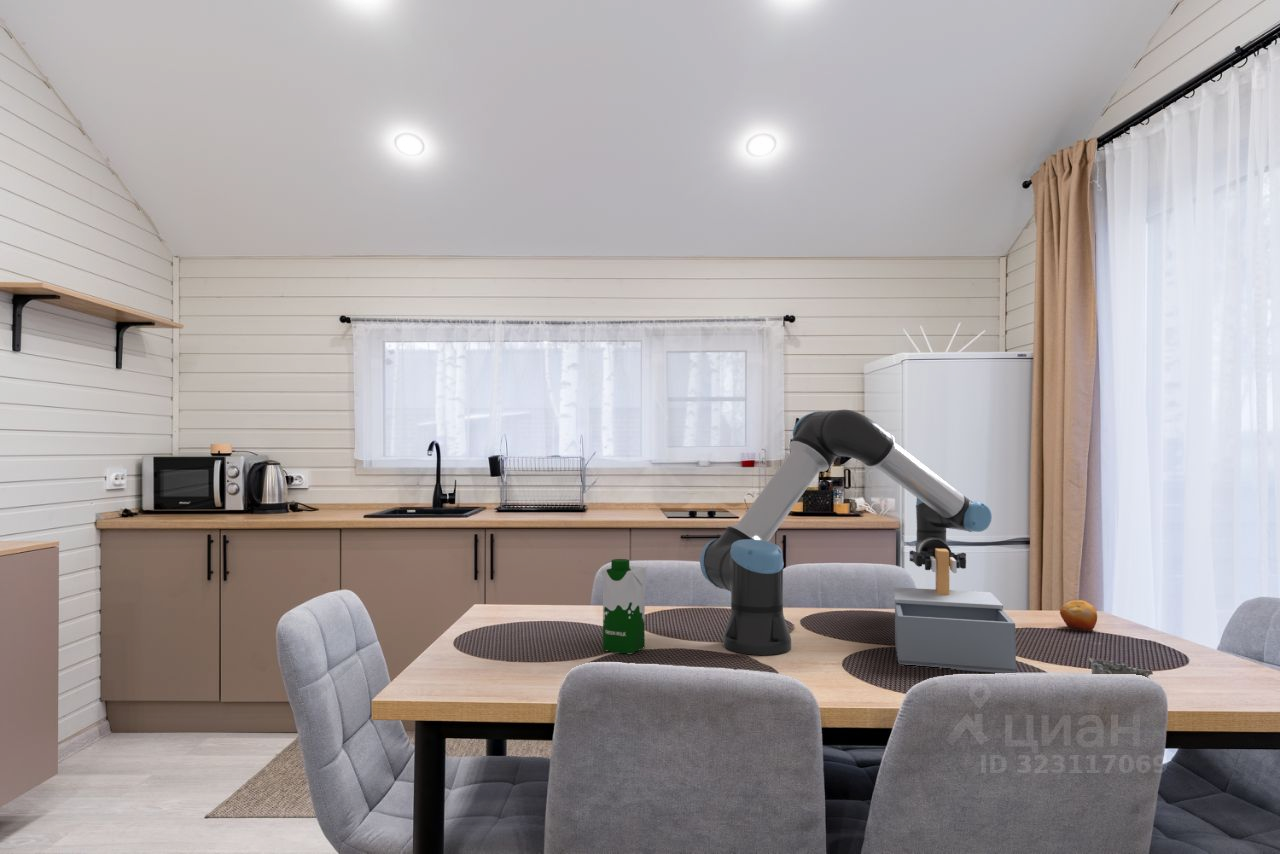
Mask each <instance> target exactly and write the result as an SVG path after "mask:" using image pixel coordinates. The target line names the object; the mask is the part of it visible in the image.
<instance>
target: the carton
mask: <svg viewBox="0 0 1280 854" xmlns="http://www.w3.org/2000/svg"><path fill="white" fill-rule="evenodd" d="M894 636H895V637H894V640H895V641H894V642H895V643H894V644H895V645H894V646H895V652H897V653H896V658H897V657H898V658H897V662H898V663H899V664H905V665H920V666H932V667H944V668H951V669H950V670H954V669H956V670H955V671H957V670H958V671H969V672H983V673H991V674H992V673H994V674H995V673H997V674H1005V673H1016V674H1017V655H1016V654H1017V653H1016V650H1017V649H1016V648H1017V647H1016V643H1017V642H1016V640H1017V639H1016V622H1015V621H1013V619H1012V618H1011V617H1010V616H1009V615H1008V613H1006V611H1004V609H993V608H975V607H958V606H940V605H923V604H905V603H895V602H894ZM899 664H898V665H899Z"/></svg>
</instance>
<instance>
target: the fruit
mask: <svg viewBox="0 0 1280 854" xmlns="http://www.w3.org/2000/svg"><path fill="white" fill-rule="evenodd" d="M1059 615H1060V617H1061V619H1062V620H1063V622H1064V623H1065V625H1066V626H1067V627H1068V628H1069V630H1075V629H1076V630H1077V631H1087V632H1088V631H1092V630H1094V628H1095V627H1096V625H1097V622H1098V613H1097V609H1096V607H1095V606H1094V605H1092V604H1091V603H1089V602H1087V601H1085V600H1081V599H1080V600H1079V599H1078V600H1069V601H1066V602H1065V603H1063V604H1062V606H1061V607H1060V609H1059Z"/></svg>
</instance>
